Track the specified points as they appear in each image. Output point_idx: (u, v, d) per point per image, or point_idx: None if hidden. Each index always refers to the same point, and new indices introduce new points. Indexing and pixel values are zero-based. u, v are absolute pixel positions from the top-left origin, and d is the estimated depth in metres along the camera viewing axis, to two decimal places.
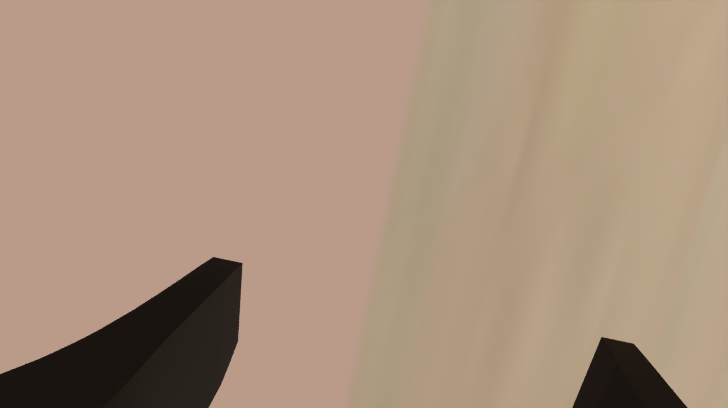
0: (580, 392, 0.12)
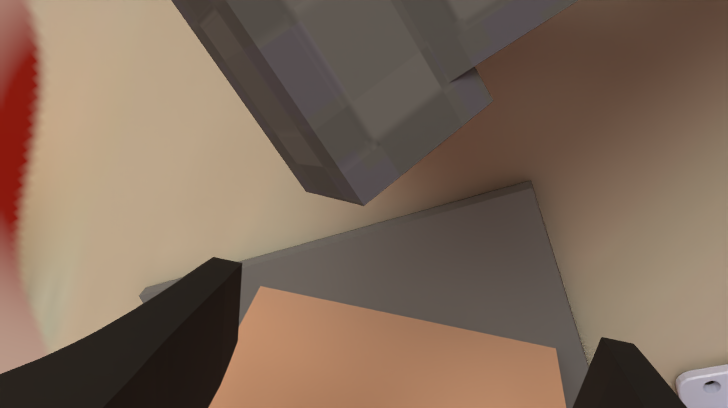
0: (580, 392, 0.12)
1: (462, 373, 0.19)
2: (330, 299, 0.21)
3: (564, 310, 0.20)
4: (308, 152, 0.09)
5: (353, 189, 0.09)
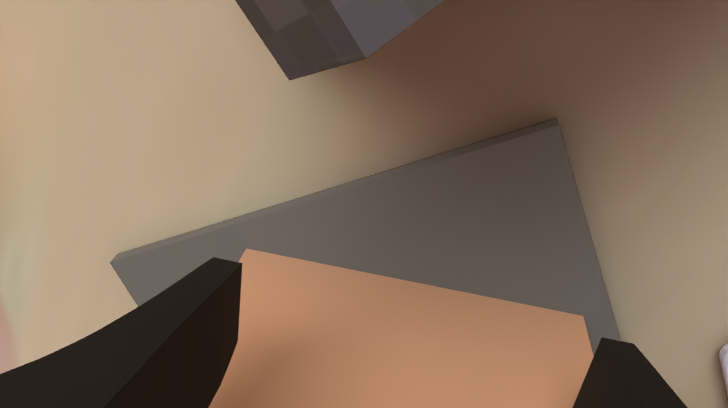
0: (580, 392, 0.12)
1: (478, 342, 0.16)
2: (326, 262, 0.19)
3: (593, 271, 0.17)
4: None
5: (350, 33, 0.06)
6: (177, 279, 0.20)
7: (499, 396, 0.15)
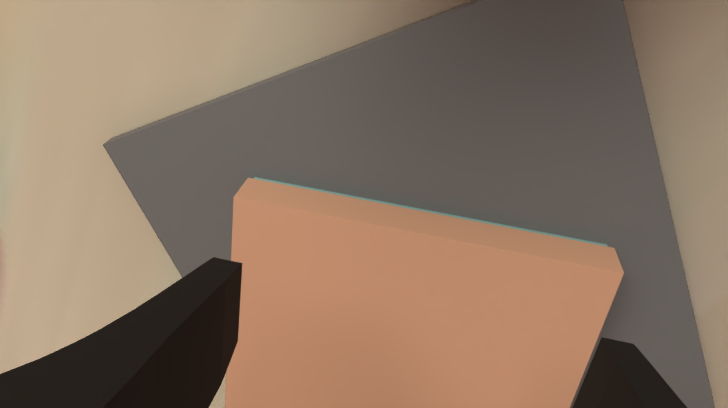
0: (580, 392, 0.12)
1: (482, 316, 0.17)
2: (343, 136, 0.17)
3: (645, 135, 0.15)
4: None
5: None
6: (177, 162, 0.18)
7: (484, 370, 0.18)
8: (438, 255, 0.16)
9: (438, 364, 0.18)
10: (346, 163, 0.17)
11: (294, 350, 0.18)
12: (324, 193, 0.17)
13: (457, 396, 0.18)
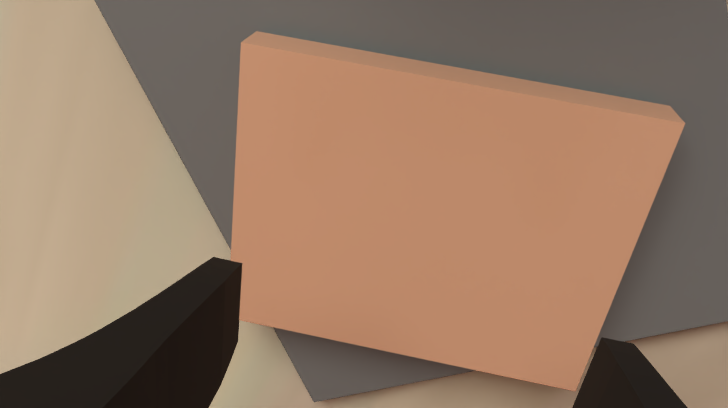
0: (580, 392, 0.12)
1: (520, 183, 0.15)
2: None
3: None
4: None
5: None
6: (177, 18, 0.16)
7: (520, 251, 0.16)
8: (472, 108, 0.14)
9: (468, 245, 0.16)
10: (367, 12, 0.15)
11: (306, 233, 0.16)
12: (342, 47, 0.15)
13: (489, 284, 0.16)
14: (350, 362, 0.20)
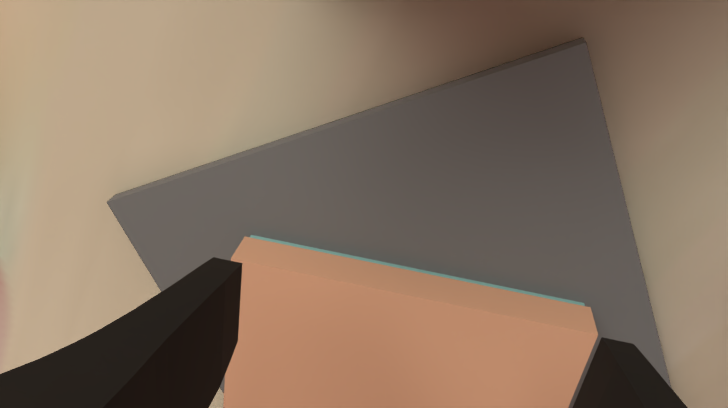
0: (580, 392, 0.12)
1: (465, 370, 0.18)
2: (334, 199, 0.18)
3: (619, 205, 0.16)
4: None
5: None
6: (177, 220, 0.19)
7: None
8: (424, 315, 0.17)
9: None
10: (338, 224, 0.18)
11: (287, 397, 0.19)
12: (317, 252, 0.18)
13: None
14: None
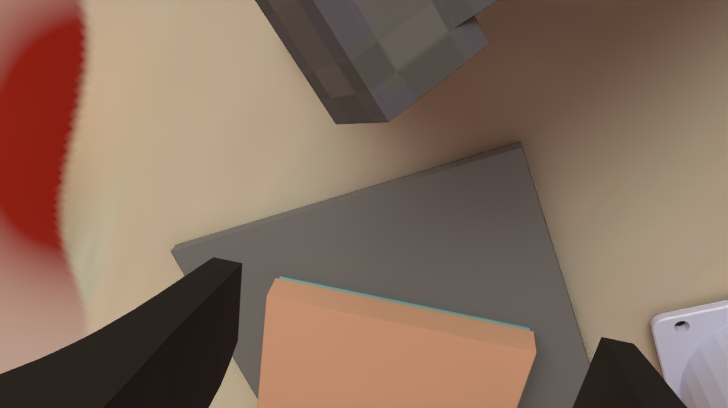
0: (580, 392, 0.12)
1: (440, 378, 0.24)
2: (343, 251, 0.24)
3: (551, 258, 0.23)
4: (343, 83, 0.12)
5: (380, 108, 0.11)
6: None
7: None
8: (409, 337, 0.23)
9: None
10: (345, 269, 0.24)
11: (307, 398, 0.25)
12: (330, 290, 0.24)
13: None
14: None
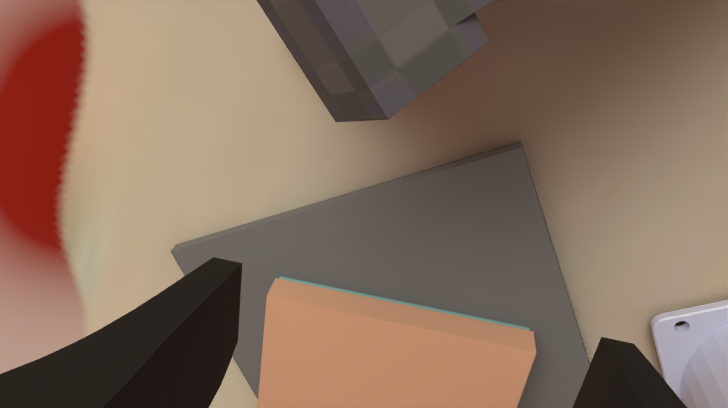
0: (580, 392, 0.12)
1: (440, 378, 0.24)
2: (343, 251, 0.24)
3: (551, 258, 0.23)
4: (343, 80, 0.12)
5: (380, 105, 0.11)
6: None
7: None
8: (409, 337, 0.23)
9: None
10: (345, 269, 0.24)
11: (307, 398, 0.25)
12: (330, 290, 0.24)
13: None
14: None
